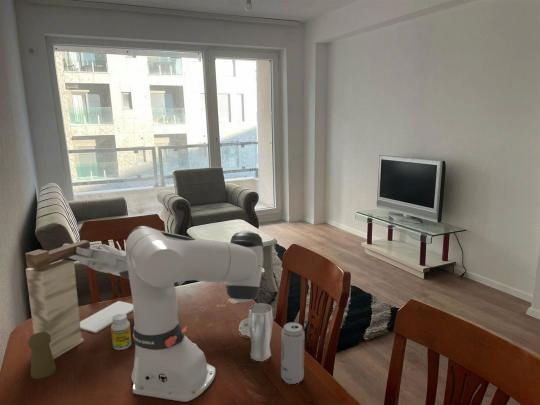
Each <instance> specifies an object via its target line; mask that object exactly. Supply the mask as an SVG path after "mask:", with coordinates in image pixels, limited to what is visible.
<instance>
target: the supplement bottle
mask: <svg viewBox="0 0 540 405" xmlns="http://www.w3.org/2000/svg"><path fill="white" fill-rule="evenodd" d="M127 316H128V314H127V315H126V314H117V315H115V316H114V317H113V323H112V324H111V326H110V331H111V341H112V342H111V343H112V348H113V349H114V350H116V351H121V350H125V349H128V348H129V347H130V346H131V345H132V334H131V323H130V321H129V320H128V317H127Z"/></svg>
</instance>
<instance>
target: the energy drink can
mask: <svg viewBox="0 0 540 405" xmlns="http://www.w3.org/2000/svg"><path fill="white" fill-rule="evenodd" d="M305 334H306V332H305V331H304V329H303V325H301V324H300V323H298V322H295V321H293V322H292V321H291V322H287V323H285V324H284V325H283V329H282V330H281V337H280V338H281V339H280V340H281V341H280V343H281V344H280V345H281V346H280V349H281V350H280V377H281V379H282V380H284V381H285V382H286V384H287V383H288V384H287V385H290V384H296V383H298V384H300V383H301V382H302V380H303V379H304V374H305V372H304V371H305V340H306V338H305ZM284 381H283V382H284ZM300 381H301V382H300ZM285 382H284V383H285ZM299 382H300V383H299ZM296 385H297V384H296Z"/></svg>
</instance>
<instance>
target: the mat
mask: <svg viewBox="0 0 540 405" xmlns="http://www.w3.org/2000/svg"><path fill="white" fill-rule="evenodd" d="M132 312H134V311H133V303H129V302H126V301H121V300H118V301H116V302H114V303H111V304H110V305H108V306H107V307H106V306H105V308H103V309H101V310H99V311H97V312H95V313H94V314H92V315H90V316H87V317H86V318H85V319H82V320H80V328H81V330H83V331H86V332H90V333H94V334H98V333H99V332H100V331H102V330H103V329H105V328H107V327H109V326H110V325H112V324H113V317H114V316H115V315H117V314H126V315H127V316H128V315H129V314H131V313H132Z"/></svg>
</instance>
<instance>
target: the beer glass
mask: <svg viewBox="0 0 540 405" xmlns="http://www.w3.org/2000/svg"><path fill="white" fill-rule="evenodd" d="M273 317H274V316H273V307H272V306H271V305H270V304H267V303H263V302H262V303H255V304H251V305H250V306H249V307H248V318H249V319H248V324H247V325H248V326H249V332H250V337H249V338H250V341H251V344H250V345H251V350H250V353H249V356H251V357H250V359H251V358H252V359H254V360H256V361H264V360H266V359H268V358H269V357H270V356H271V357H272V353H271V346H270V345H271V344H270V343H271V338H272V334H273V333H272V332H273V328H274V327H273V325H274V324H273V323H274V318H273ZM252 359H251V360H252ZM254 360H253V361H254ZM256 361H255V362H256Z"/></svg>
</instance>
